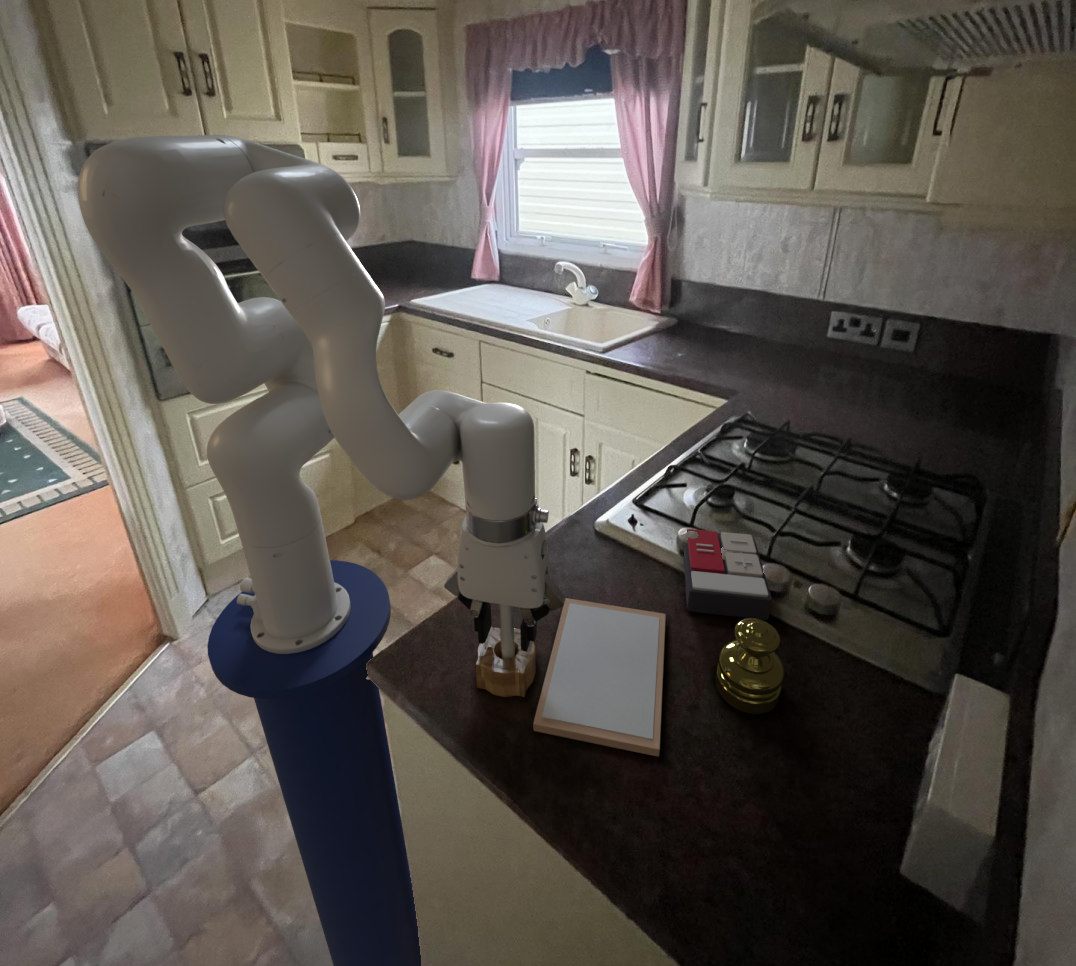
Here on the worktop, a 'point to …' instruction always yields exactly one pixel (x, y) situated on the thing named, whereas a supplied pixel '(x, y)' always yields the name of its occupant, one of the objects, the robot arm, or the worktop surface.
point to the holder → (505, 666)
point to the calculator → (725, 576)
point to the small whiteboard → (605, 677)
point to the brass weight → (751, 668)
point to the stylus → (507, 631)
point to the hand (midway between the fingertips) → (505, 637)
